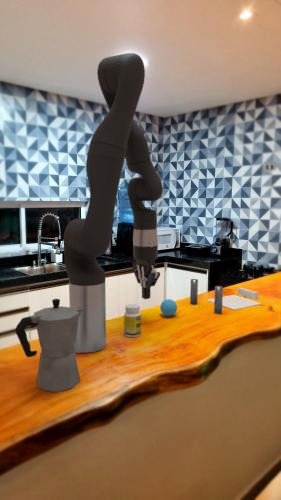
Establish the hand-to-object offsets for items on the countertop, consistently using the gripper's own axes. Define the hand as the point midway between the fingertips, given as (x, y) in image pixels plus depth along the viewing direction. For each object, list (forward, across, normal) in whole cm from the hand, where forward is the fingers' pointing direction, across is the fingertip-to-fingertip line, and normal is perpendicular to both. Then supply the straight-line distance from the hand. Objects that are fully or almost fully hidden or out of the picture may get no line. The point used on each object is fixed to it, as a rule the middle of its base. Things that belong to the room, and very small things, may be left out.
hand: (146, 298), depth 115 cm
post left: (+8, -7, +25) cm, 27 cm away
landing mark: (+8, -1, +39) cm, 40 cm away
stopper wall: (+8, -4, +49) cm, 50 cm away
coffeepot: (+7, +23, -37) cm, 45 cm away
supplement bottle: (+7, +8, -10) cm, 14 cm away
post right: (+8, +6, +25) cm, 27 cm away
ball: (+5, 0, +9) cm, 10 cm away
